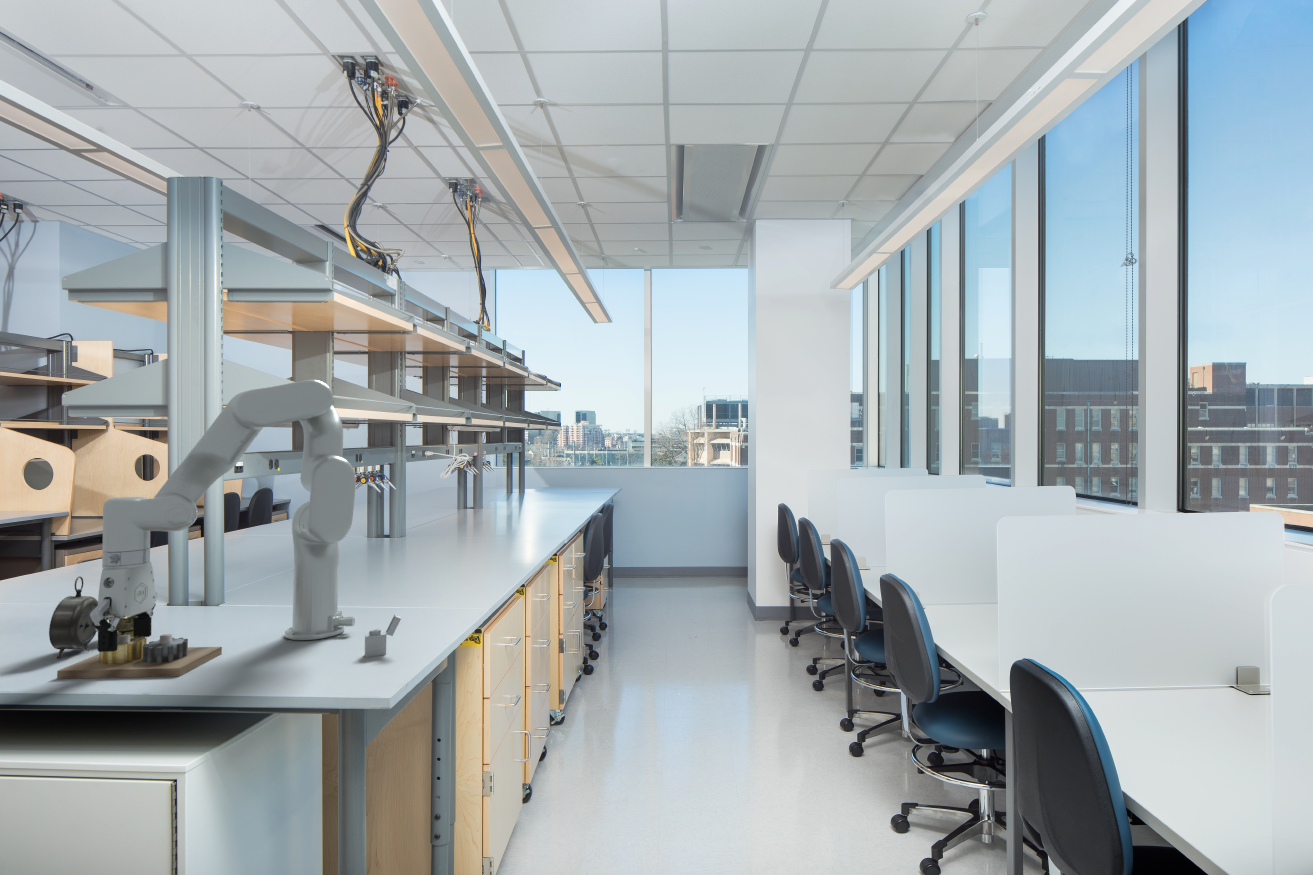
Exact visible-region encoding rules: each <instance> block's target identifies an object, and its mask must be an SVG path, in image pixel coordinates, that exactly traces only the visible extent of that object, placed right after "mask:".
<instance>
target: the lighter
mask: <svg viewBox="0 0 1313 875" xmlns="http://www.w3.org/2000/svg"><path fill="white" fill-rule="evenodd" d="M401 620H402V616H400V615H397V614H393V617H392V618H391V621H390V623H389V625H388V626H387V629H386V630H385V632H382V630H381V628H377V629H371V630H369V631H368V634H364V657H365V658H368V657H376V656H377V657H378V656H383V655H385V656H386V655H387V635H388V636H391V637H393V636H394V634H395V632H396V630H397V628H398V626H399V624H400V621H401Z"/></svg>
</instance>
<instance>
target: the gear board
mask: <svg viewBox="0 0 1313 875" xmlns="http://www.w3.org/2000/svg"><path fill="white" fill-rule="evenodd" d="M127 642H130V635H120V636H118V637H117V644H120V643H127ZM222 651H223V647H222V646H197V647H196V646H195V647H194V646H193V647H190V646H189V639H188V638H184V637H178V638H175V637H173V634H172V633H163V634H161V635H159V639H158V640H155V641H153V640H152V641H149V642H148V643H146V644H144V645H143V658H142V659H136V661H132V662H131V661H128V662H124V663H120V664H119V663H113V664H108V663H104V664H101V662H99V653H97V654H95V655H92V656H90V657H88V658H85V659H83V660H81V661H78V662H76V663H73V664H71V665H67V666H65V667H63V668H61V669H59V670H58V669H57V671H56V673H57V674H56V679H59V680H64V679H100V678H101V679H103V678H104V679H106V678H107V679H108V678H144V677H145V678H147V677H148V678H149V677H150V678H154V677H158V678H159V677H182V676H183V675H185V674H188V672H190V671H192V670H195V669H196V668H198V667H200V666H201V665H203V664H206V663H208V662H209V661H211V660H213V659H215V658H216V657H219V656H220V655H222V653H223V652H222Z"/></svg>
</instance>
